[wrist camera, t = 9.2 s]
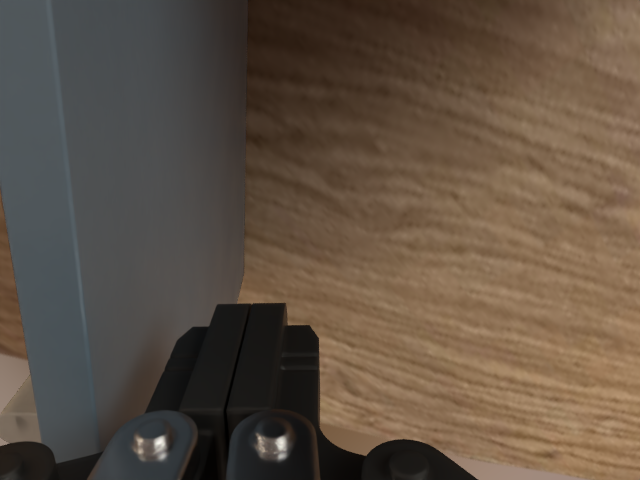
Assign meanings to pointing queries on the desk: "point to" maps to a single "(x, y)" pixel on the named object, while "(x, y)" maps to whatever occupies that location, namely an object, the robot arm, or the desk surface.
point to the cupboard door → (117, 198)
